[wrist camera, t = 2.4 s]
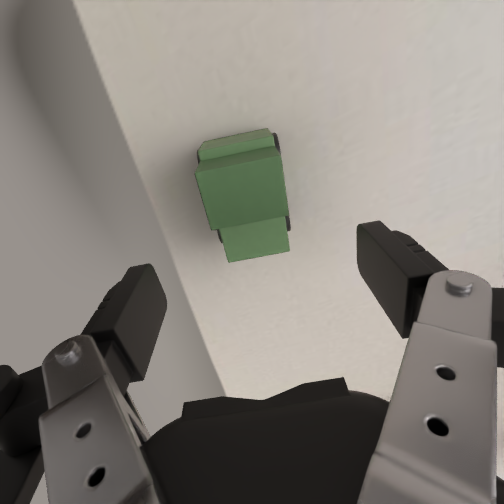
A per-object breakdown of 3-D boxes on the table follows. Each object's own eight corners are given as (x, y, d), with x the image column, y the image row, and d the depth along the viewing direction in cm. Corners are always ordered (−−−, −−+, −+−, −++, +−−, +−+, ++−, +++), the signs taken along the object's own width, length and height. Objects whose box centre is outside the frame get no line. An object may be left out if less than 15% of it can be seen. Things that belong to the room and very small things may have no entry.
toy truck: (197, 141, 18) (182, 163, 13) (273, 125, 18) (288, 141, 13) (224, 239, 22) (220, 286, 16) (287, 226, 21) (304, 271, 16)
